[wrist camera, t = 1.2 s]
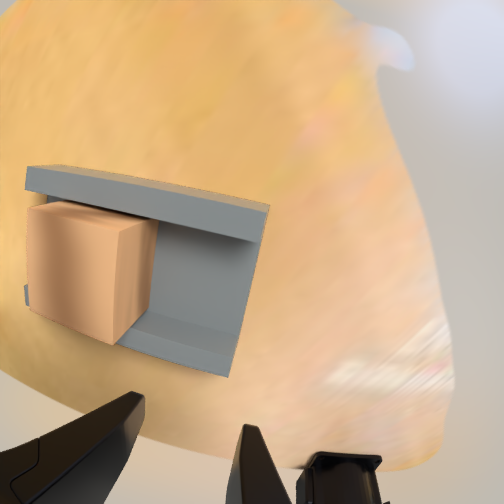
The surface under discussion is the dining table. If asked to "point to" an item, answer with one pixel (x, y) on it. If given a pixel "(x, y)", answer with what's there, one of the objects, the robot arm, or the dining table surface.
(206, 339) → the chute
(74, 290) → the block
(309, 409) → the dining table surface
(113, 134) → the dining table surface
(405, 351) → the dining table surface
